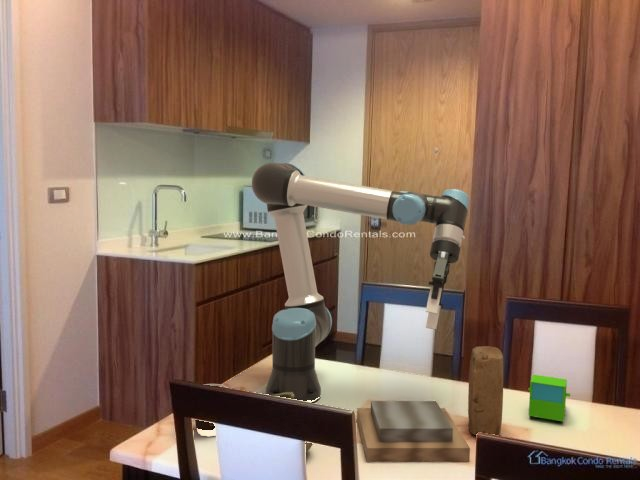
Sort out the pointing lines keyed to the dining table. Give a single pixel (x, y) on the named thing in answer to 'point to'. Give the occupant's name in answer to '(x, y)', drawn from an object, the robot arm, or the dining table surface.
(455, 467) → the dining table surface
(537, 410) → the toy car
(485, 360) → the block
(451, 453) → the tower base
